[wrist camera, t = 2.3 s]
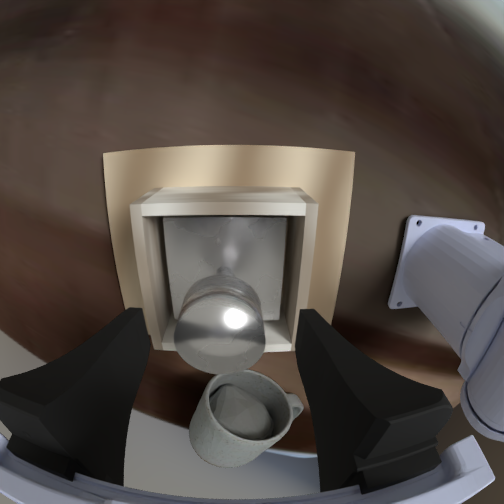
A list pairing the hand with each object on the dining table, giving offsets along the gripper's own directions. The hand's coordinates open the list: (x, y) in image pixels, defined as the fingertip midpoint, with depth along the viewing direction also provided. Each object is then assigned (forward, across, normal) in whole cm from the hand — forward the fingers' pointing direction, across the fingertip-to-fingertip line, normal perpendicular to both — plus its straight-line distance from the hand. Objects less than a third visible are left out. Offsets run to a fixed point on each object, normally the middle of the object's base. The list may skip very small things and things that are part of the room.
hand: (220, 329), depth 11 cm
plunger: (+6, 0, 0) cm, 6 cm away
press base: (+8, 0, 0) cm, 8 cm away
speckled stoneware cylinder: (+9, -2, +15) cm, 18 cm away
